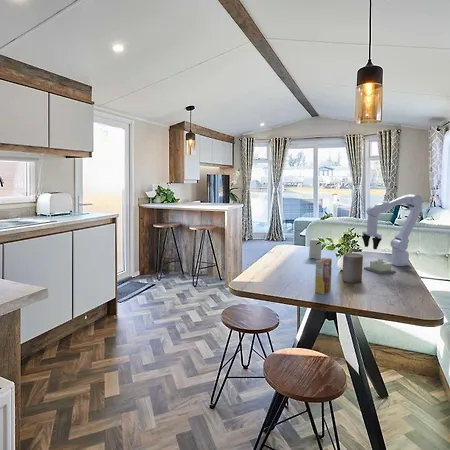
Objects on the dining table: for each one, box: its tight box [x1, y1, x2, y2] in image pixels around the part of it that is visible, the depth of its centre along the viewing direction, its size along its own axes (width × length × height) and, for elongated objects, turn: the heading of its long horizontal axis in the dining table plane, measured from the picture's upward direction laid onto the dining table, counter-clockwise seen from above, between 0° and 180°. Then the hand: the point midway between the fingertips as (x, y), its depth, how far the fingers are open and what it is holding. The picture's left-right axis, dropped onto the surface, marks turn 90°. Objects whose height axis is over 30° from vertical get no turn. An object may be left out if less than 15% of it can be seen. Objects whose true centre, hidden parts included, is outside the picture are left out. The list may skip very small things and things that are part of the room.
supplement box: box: [308, 238, 322, 260], centre depth 240 cm, size 7×7×13 cm
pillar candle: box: [341, 252, 364, 284], centre depth 188 cm, size 10×10×15 cm
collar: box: [369, 260, 392, 271], centre depth 209 cm, size 8×8×4 cm
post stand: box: [363, 258, 397, 275], centre depth 209 cm, size 12×12×6 cm
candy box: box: [314, 257, 333, 295], centre depth 170 cm, size 9×4×15 cm, turn 140°
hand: (370, 247), depth 223 cm, fingers open, 7 cm apart
